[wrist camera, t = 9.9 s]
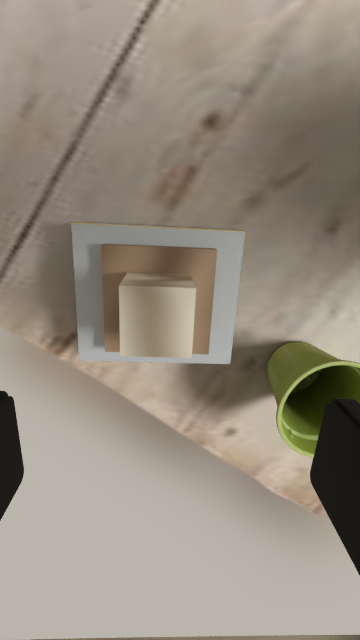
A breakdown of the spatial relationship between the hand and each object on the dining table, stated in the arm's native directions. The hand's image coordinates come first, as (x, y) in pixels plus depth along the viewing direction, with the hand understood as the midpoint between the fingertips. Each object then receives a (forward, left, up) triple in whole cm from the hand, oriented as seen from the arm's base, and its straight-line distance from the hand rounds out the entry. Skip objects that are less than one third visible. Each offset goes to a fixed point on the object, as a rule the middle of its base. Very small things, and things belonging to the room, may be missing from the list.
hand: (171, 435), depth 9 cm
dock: (+1, +1, -23) cm, 23 cm away
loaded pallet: (+1, +1, -19) cm, 19 cm away
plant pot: (-14, +9, -23) cm, 28 cm away
